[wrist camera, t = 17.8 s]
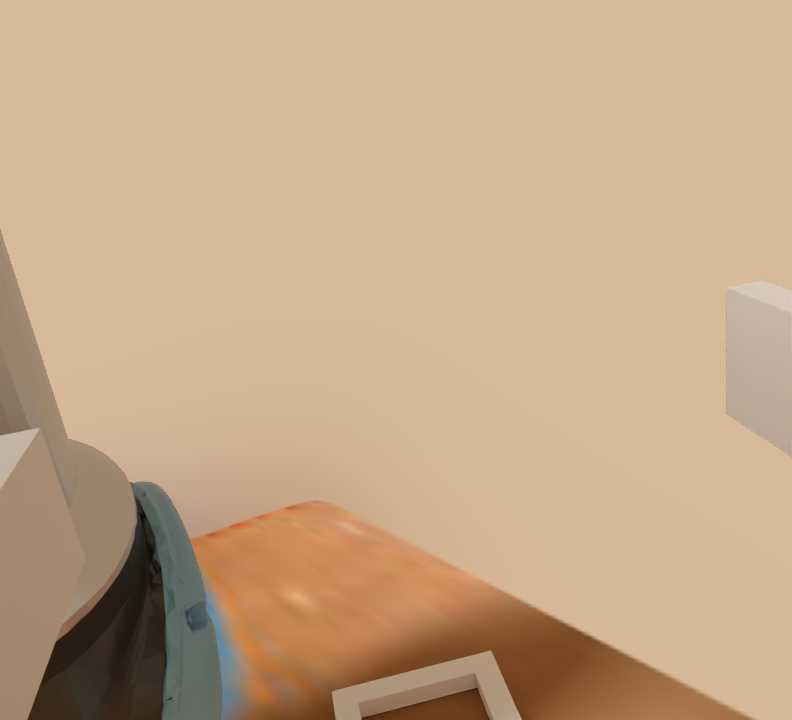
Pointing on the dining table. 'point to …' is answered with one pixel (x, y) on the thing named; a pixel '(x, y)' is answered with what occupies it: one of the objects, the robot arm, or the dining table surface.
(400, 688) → the white square frame
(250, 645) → the dining table surface
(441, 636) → the dining table surface
